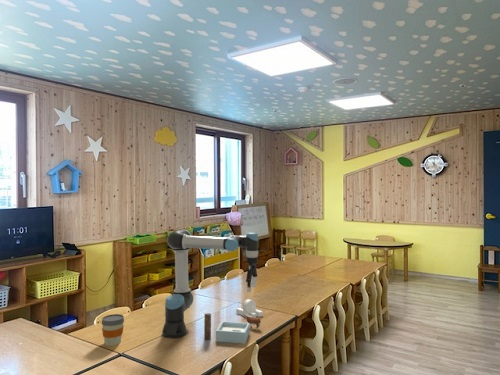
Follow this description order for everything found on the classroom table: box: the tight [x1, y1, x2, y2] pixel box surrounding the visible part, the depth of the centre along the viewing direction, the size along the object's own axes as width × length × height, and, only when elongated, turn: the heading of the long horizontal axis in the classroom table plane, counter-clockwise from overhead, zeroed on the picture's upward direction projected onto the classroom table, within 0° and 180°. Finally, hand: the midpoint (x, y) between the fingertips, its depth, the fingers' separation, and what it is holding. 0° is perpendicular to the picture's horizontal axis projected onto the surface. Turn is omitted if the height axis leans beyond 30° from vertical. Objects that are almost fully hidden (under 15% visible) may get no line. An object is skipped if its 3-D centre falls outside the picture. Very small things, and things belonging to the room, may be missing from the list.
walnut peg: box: [203, 312, 212, 341], centre depth 225 cm, size 4×4×15 cm
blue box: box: [215, 320, 250, 344], centre depth 227 cm, size 18×16×6 cm
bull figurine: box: [243, 314, 261, 331], centre depth 243 cm, size 4×13×8 cm, turn 51°
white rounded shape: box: [235, 298, 264, 318], centre depth 269 cm, size 18×10×11 cm, turn 45°
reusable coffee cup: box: [101, 313, 125, 347], centre depth 218 cm, size 13×13×15 cm
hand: (251, 289), depth 237 cm, fingers open, 13 cm apart
